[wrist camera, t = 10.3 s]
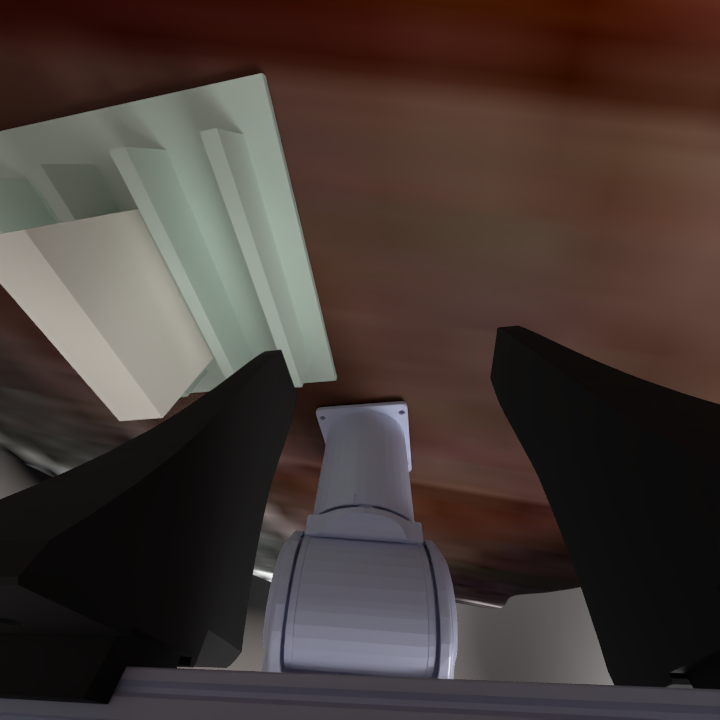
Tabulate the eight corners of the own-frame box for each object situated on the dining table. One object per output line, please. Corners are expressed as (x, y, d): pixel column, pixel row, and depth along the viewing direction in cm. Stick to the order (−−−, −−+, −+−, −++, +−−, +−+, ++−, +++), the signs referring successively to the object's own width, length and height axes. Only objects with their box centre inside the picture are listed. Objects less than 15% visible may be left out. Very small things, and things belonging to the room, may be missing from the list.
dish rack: (336, 376, 23) (331, 406, 20) (150, 393, 25) (121, 422, 22) (265, 75, 13) (235, 51, 11) (-32, 141, 15) (-127, 135, 13)
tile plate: (228, 339, 21) (162, 417, 15) (197, 342, 22) (119, 421, 15) (166, 203, 16) (23, 229, 10) (127, 210, 17) (-37, 240, 10)
